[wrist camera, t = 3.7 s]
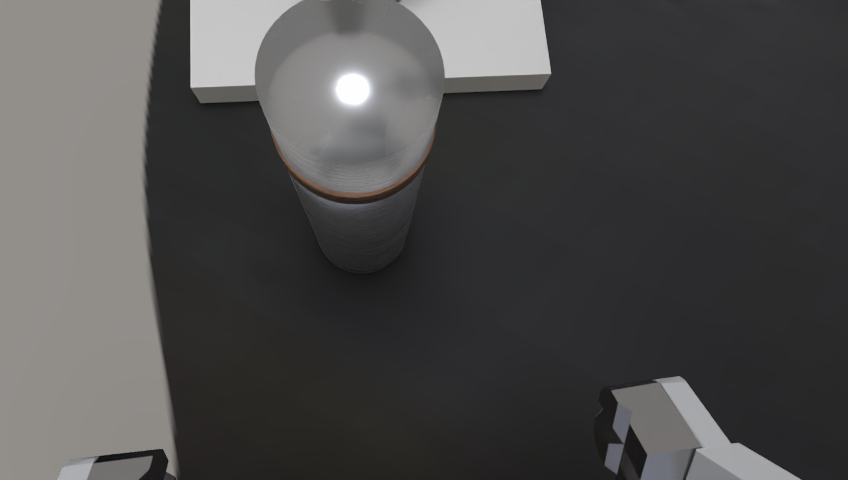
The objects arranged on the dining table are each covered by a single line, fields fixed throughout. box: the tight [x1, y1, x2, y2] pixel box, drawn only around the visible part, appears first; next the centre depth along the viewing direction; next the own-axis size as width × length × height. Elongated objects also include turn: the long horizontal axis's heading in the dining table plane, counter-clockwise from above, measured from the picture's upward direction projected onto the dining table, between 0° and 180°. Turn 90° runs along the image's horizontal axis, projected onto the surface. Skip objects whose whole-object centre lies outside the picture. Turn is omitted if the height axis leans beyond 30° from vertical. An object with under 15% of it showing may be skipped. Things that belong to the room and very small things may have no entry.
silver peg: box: [255, 0, 445, 274], centre depth 19 cm, size 4×4×14 cm
